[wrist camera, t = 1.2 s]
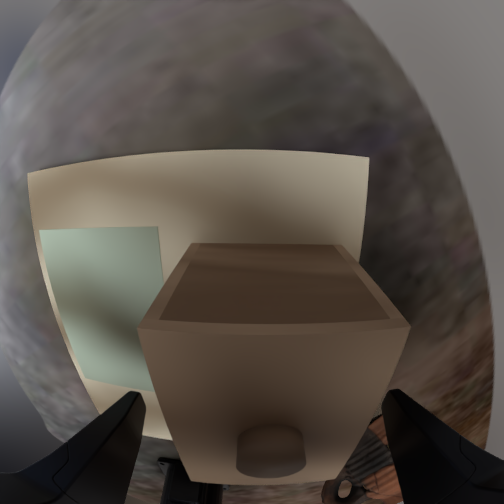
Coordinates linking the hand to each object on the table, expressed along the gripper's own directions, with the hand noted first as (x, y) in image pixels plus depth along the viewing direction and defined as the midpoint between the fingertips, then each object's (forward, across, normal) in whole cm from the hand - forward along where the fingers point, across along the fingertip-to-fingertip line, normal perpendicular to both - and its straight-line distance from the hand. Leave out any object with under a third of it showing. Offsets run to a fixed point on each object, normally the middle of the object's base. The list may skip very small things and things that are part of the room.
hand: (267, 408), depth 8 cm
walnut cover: (+4, 0, 0) cm, 5 cm away
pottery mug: (+6, -11, +14) cm, 19 cm away
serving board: (+6, +4, +1) cm, 7 cm away
